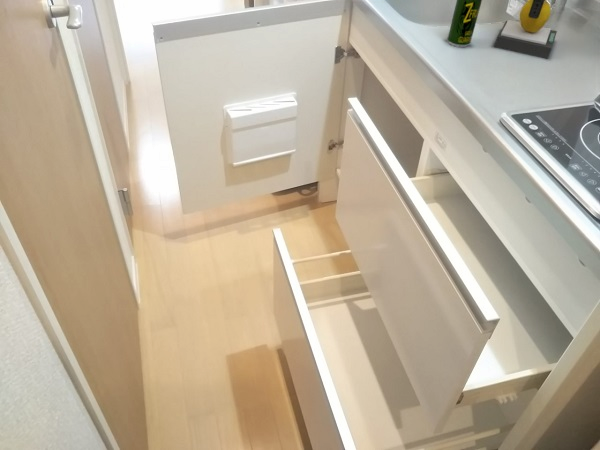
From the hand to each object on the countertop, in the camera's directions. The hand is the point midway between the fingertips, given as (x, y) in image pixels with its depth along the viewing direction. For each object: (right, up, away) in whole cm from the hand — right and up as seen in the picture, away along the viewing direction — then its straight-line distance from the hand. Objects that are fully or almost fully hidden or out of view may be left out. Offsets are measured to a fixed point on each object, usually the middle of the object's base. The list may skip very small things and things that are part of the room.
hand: (535, 11), depth 118 cm
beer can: (-16, -6, +4) cm, 18 cm away
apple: (0, -4, +3) cm, 5 cm away
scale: (0, -6, +5) cm, 8 cm away
